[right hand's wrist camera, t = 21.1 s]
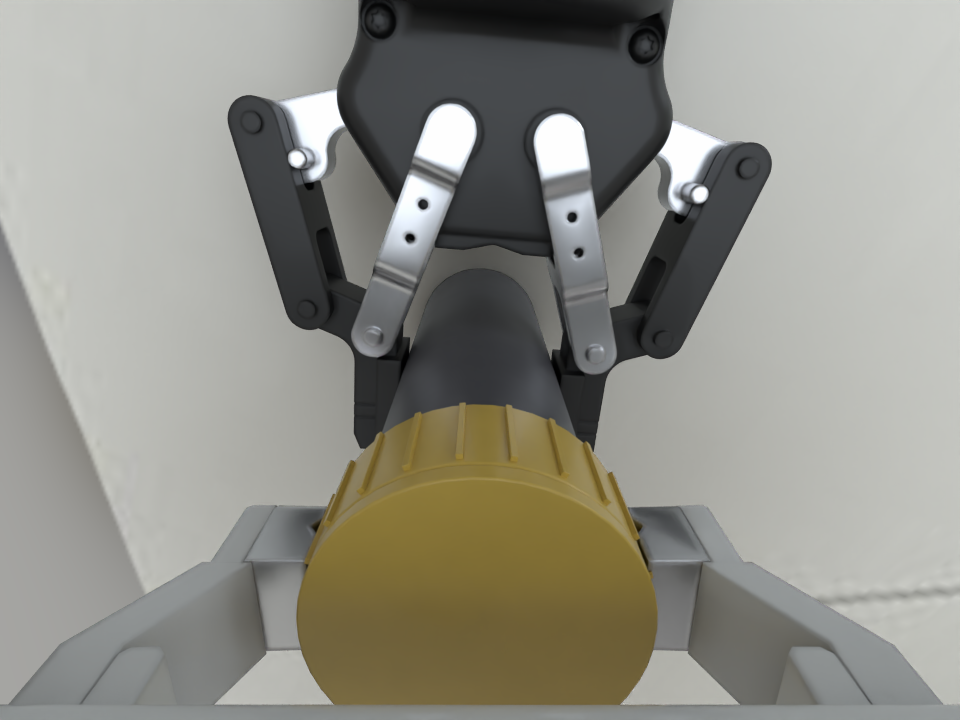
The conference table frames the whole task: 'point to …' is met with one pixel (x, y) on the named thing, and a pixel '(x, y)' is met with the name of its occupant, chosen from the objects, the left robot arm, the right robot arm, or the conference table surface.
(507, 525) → the lid
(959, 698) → the conference table surface
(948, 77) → the conference table surface
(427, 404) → the jar
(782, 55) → the conference table surface
